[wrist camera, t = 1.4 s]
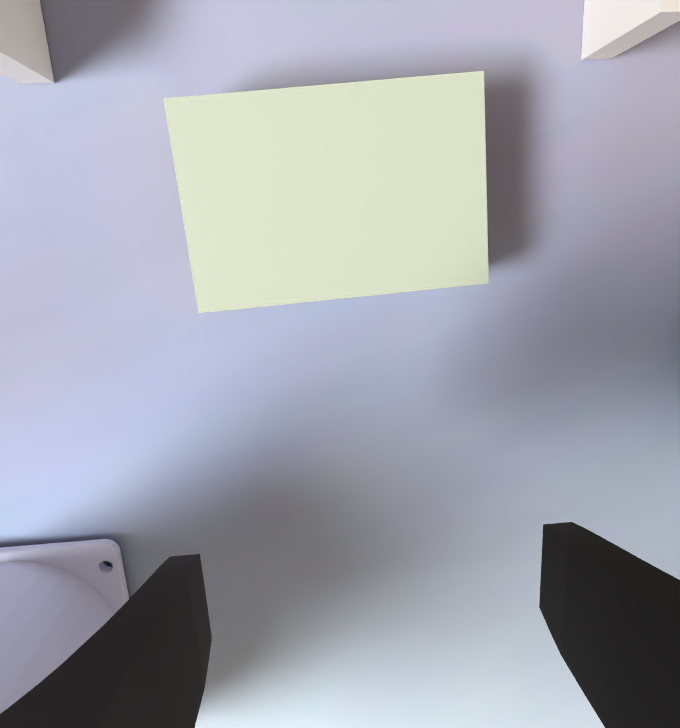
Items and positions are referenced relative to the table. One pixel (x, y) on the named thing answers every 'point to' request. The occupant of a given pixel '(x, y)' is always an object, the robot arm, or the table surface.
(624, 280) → the table surface
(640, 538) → the table surface
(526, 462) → the table surface
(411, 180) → the green tile
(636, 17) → the bin
